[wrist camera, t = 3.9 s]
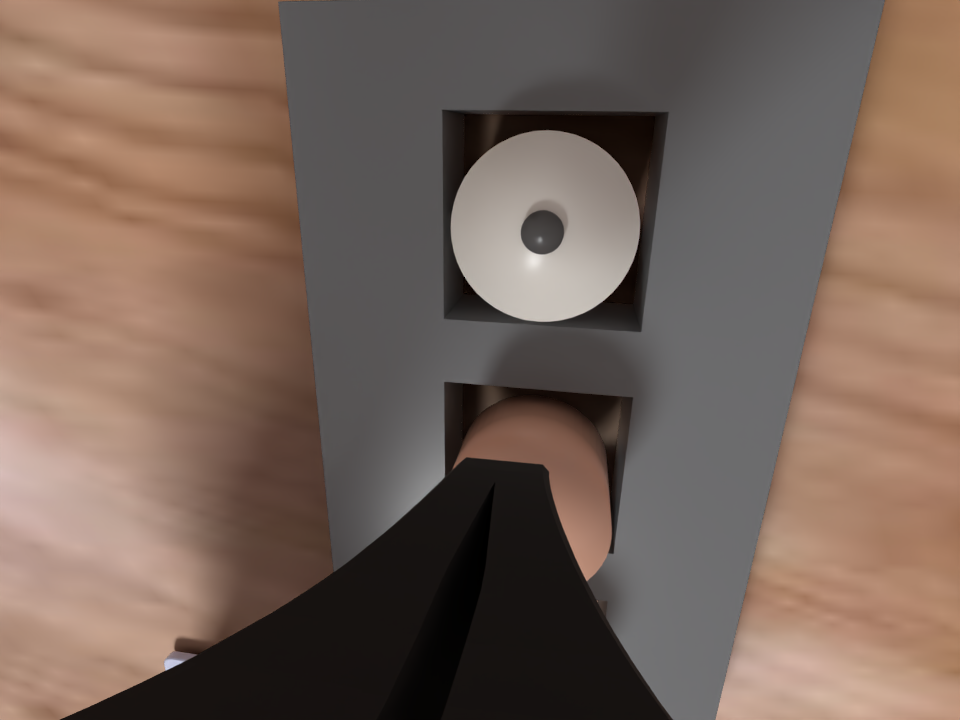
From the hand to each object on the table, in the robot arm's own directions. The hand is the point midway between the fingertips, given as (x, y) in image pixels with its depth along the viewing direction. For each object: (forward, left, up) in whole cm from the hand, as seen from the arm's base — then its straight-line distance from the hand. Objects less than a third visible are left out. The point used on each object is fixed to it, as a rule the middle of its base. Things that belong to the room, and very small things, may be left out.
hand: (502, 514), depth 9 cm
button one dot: (+4, 0, -8) cm, 9 cm away
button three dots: (-3, 0, -6) cm, 7 cm away
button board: (-3, 0, -8) cm, 9 cm away
